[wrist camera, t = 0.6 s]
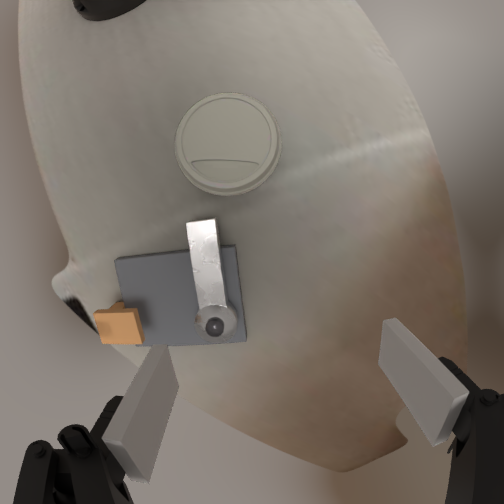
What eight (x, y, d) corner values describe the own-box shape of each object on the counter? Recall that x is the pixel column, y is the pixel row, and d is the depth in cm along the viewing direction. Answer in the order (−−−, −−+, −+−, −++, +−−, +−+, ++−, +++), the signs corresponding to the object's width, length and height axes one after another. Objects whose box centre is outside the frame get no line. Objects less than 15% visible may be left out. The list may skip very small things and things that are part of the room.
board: (119, 257, 33) (114, 260, 32) (235, 244, 33) (234, 247, 32) (139, 341, 36) (135, 346, 34) (246, 335, 36) (246, 341, 34)
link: (240, 331, 34) (239, 346, 30) (201, 334, 34) (197, 348, 30) (225, 216, 31) (222, 219, 27) (182, 221, 31) (174, 225, 27)
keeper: (114, 295, 34) (93, 313, 28) (150, 292, 34) (133, 312, 28) (121, 322, 35) (102, 343, 29) (157, 321, 35) (142, 344, 29)
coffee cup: (182, 167, 31) (147, 156, 20) (225, 108, 30) (213, 67, 18) (243, 209, 32) (240, 219, 21) (286, 149, 31) (307, 126, 19)
